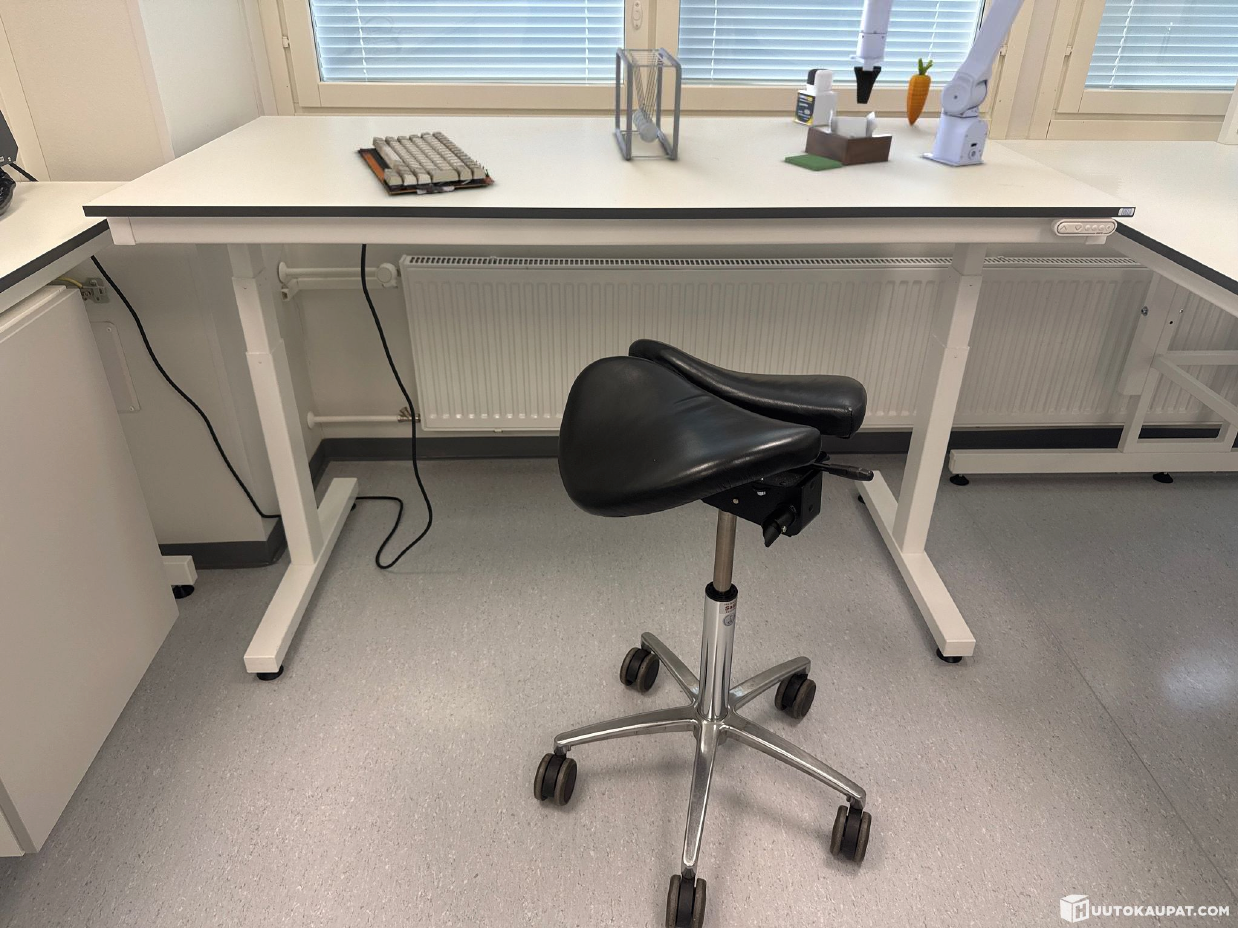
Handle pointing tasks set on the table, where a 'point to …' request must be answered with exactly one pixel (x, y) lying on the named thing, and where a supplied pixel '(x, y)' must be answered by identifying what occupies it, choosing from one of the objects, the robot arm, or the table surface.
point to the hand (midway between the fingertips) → (862, 103)
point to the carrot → (918, 92)
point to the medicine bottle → (817, 99)
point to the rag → (813, 162)
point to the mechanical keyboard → (423, 164)
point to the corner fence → (848, 147)
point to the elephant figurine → (852, 125)
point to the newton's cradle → (641, 116)
